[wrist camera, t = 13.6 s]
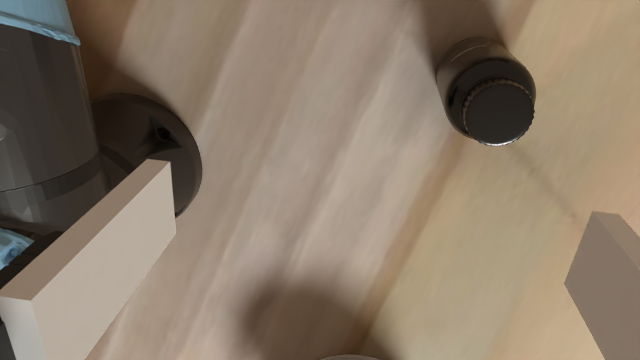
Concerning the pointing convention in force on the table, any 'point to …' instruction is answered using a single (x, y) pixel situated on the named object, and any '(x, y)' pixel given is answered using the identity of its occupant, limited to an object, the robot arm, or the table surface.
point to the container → (349, 357)
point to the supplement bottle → (486, 91)
